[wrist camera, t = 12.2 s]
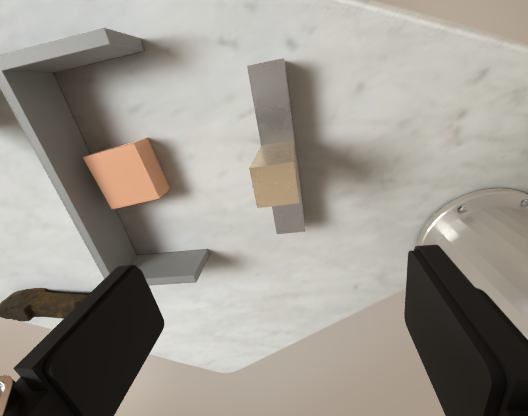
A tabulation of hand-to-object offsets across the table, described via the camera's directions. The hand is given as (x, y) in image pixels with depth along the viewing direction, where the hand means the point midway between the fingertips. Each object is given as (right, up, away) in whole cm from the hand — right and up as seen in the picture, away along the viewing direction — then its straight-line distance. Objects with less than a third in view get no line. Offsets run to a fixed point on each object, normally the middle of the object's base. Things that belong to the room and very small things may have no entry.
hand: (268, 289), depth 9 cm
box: (-14, +7, +20) cm, 26 cm away
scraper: (+2, +9, +18) cm, 20 cm away
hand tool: (-29, -11, +31) cm, 44 cm away
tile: (-15, +7, +20) cm, 26 cm away
